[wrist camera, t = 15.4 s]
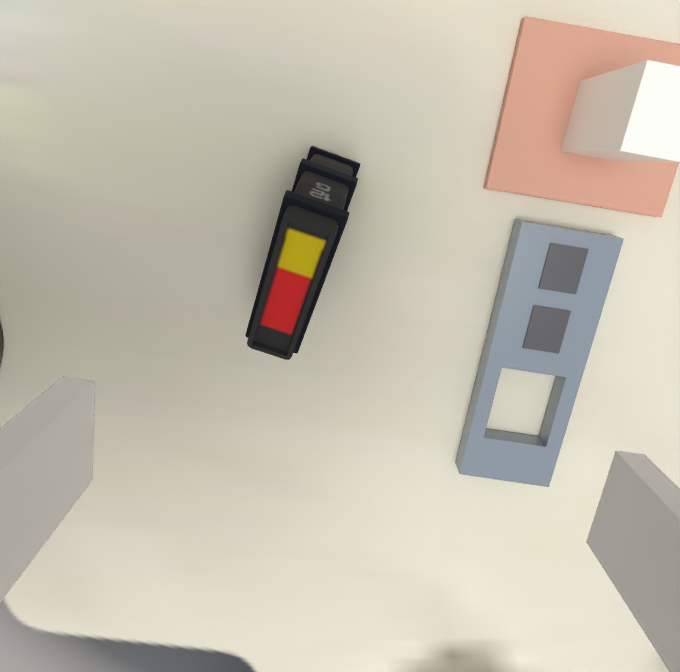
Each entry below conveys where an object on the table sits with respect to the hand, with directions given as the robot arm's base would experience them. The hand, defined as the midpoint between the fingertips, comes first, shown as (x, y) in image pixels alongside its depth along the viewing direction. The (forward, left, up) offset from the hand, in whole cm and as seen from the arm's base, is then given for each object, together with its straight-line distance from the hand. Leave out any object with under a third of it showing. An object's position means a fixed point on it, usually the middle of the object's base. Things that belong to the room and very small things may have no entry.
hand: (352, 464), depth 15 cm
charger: (+17, +13, -34) cm, 40 cm away
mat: (+17, +13, -34) cm, 40 cm away
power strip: (+17, -6, -34) cm, 39 cm away
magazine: (-3, +1, -35) cm, 35 cm away
